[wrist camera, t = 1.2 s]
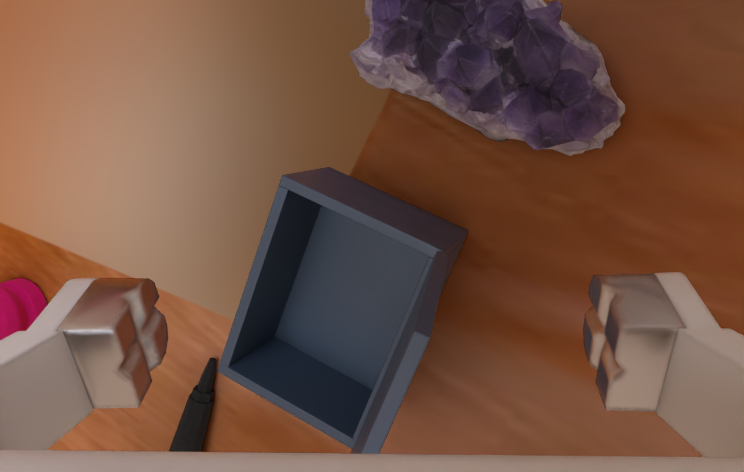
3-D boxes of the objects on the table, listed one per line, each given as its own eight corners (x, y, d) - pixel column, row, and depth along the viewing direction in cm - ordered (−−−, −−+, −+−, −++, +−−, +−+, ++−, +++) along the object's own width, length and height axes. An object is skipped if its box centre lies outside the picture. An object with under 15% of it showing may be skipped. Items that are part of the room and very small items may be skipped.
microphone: (218, 343, 62) (165, 519, 65) (170, 349, 57) (115, 538, 60) (254, 369, 59) (197, 551, 62) (207, 377, 54) (147, 574, 57)
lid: (296, 602, 32) (310, 609, 32) (413, 330, 27) (430, 337, 27) (350, 453, 45) (360, 458, 45) (437, 250, 40) (448, 255, 40)
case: (268, 337, 56) (216, 371, 48) (329, 166, 51) (281, 174, 44) (392, 404, 53) (357, 452, 45) (468, 230, 48) (444, 251, 41)
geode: (676, 34, 41) (690, 38, 32) (582, 182, 46) (573, 220, 38) (412, -91, 45) (360, -119, 36) (352, 59, 50) (293, 67, 41)
